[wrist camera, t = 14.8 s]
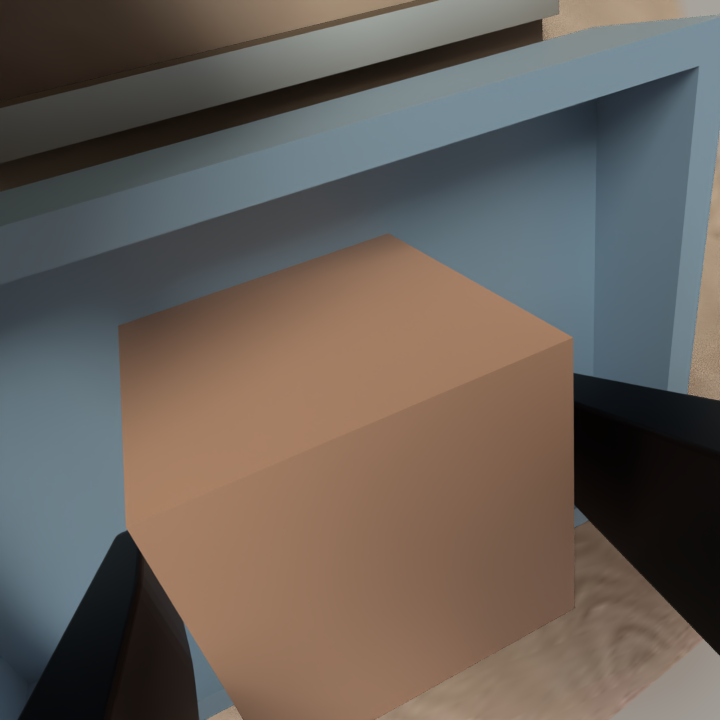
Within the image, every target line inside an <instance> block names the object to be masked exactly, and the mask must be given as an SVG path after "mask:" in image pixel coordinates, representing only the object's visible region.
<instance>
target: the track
mask: <svg viewBox="0 0 720 720" xmlns="http://www.w3.org/2000/svg"><path fill="white" fill-rule="evenodd" d="M558 14H559V0H416V1H412V2H407V3H403V4H399V5H395V6H391V7H387V8H383V9H379V10H375V11H371V12H366V13H362V14H358V15H354V16H350V17H346V18H342V19H338V20H334V21H329V22H325V23H321V24H317V25H313V26H309V27H305V28H301V29H297V30H292V31H288V32H284V33H280V34H276V35H272V36H268V37H264V38H260V39H255V40H251V41H247V42H243V43H239V44H235V45H231V46H227V47H223V48H218V49H214V50H210V51H206V52H202V53H198V54H194V55H190V56H186V57H182V58H177V59H173V60H169V61H165V62H161V63H157V64H153V65H149V66H145V67H140V68H136V69H132V70H128V71H124V72H120V73H116V74H112V75H108V76H103V77H99V78H95V79H91V80H87V81H83V82H79V83H75V84H71V85H66V86H62V87H58V88H54V89H50V90H46V91H42V92H38V93H34V94H30V95H25V96H21V97H17V98H13V99H9V100H5V101H1V102H0V192H2V191H5V190H9V189H13V188H16V187H20V186H23V185H27V184H30V183H34V182H38V181H41V180H45V179H48V178H52V177H56V176H59V175H63V174H66V173H70V172H74V171H77V170H81V169H84V168H88V167H92V166H95V165H99V164H102V163H106V162H110V161H113V160H117V159H120V158H124V157H128V156H131V155H135V154H138V153H142V152H146V151H149V150H153V149H156V148H160V147H164V146H167V145H171V144H174V143H178V142H182V141H185V140H189V139H192V138H196V137H200V136H203V135H207V134H210V133H214V132H218V131H221V130H225V129H228V128H232V127H236V126H239V125H243V124H246V123H250V122H254V121H257V120H261V119H264V118H268V117H272V116H275V115H279V114H282V113H286V112H290V111H293V110H297V109H300V108H304V107H308V106H311V105H315V104H318V103H322V102H326V101H329V100H333V99H336V98H340V97H344V96H347V95H351V94H354V93H358V92H362V91H365V90H369V89H372V88H376V87H380V86H383V85H387V84H390V83H394V82H398V81H401V80H405V79H408V78H412V77H416V76H419V75H423V74H426V73H430V72H434V71H437V70H441V69H444V68H448V67H452V66H455V65H459V64H462V63H466V62H470V61H473V60H477V59H480V58H484V57H488V56H491V55H495V54H498V53H502V52H506V51H509V50H513V49H516V48H520V47H524V46H527V45H531V44H534V43H538V42H542V41H543V35H542V19H543V18H547V17H550V16H554V15H558Z"/></svg>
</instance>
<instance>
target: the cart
mask: <svg viewBox="0 0 720 720" xmlns="http://www.w3.org/2000/svg"><path fill="white" fill-rule="evenodd" d="M719 130H720V15H710V16H700V17H690V18H680V19H670V20H660V21H650V22H640V23H630V24H620V25H610V26H600V27H592V28H588V29H585V30H581V31H578V32H574V33H570V34H567V35H563V36H560V37H556V38H552V39H549V40H545V41H542V42H538V43H534V44H531V45H527V46H524V47H520V48H516V49H513V50H509V51H506V52H502V53H498V54H495V55H491V56H488V57H484V58H480V59H477V60H473V61H470V62H466V63H462V64H459V65H455V66H452V67H448V68H444V69H441V70H437V71H434V72H430V73H426V74H423V75H419V76H416V77H412V78H408V79H405V80H401V81H398V82H394V83H390V84H387V85H383V86H380V87H376V88H372V89H369V90H365V91H362V92H358V93H354V94H351V95H347V96H344V97H340V98H336V99H333V100H329V101H326V102H322V103H318V104H315V105H311V106H308V107H304V108H300V109H297V110H293V111H290V112H286V113H282V114H279V115H275V116H272V117H268V118H264V119H261V120H257V121H254V122H250V123H246V124H243V125H239V126H236V127H232V128H228V129H225V130H221V131H218V132H214V133H210V134H207V135H203V136H200V137H196V138H192V139H189V140H185V141H182V142H178V143H174V144H171V145H167V146H164V147H160V148H156V149H153V150H149V151H146V152H142V153H138V154H135V155H131V156H128V157H124V158H120V159H117V160H113V161H110V162H106V163H102V164H99V165H95V166H92V167H88V168H84V169H81V170H77V171H74V172H70V173H66V174H63V175H59V176H56V177H52V178H48V179H45V180H41V181H38V182H34V183H30V184H27V185H23V186H20V187H16V188H13V189H9V190H5V191H2V192H0V720H17V719H18V717H19V715H20V714H21V712H22V710H23V708H24V706H25V704H26V702H27V701H28V699H29V697H30V695H31V693H32V691H33V689H34V688H35V686H36V684H37V682H38V680H39V678H40V676H41V674H42V673H43V671H44V669H45V667H46V665H47V663H48V661H49V660H50V658H51V656H52V654H53V652H54V650H55V648H56V646H57V645H58V643H59V641H60V639H61V637H62V635H63V633H64V632H65V630H66V628H67V626H68V624H69V622H70V620H71V619H72V617H73V615H74V613H75V611H76V609H77V607H78V605H79V604H80V602H81V600H82V598H83V596H84V594H85V592H86V591H87V589H88V587H89V585H90V583H91V581H92V579H93V578H94V576H95V574H96V572H97V570H98V568H99V566H100V564H101V563H102V561H103V559H104V557H105V555H106V553H107V551H108V550H109V548H110V546H111V544H112V542H113V540H114V538H115V537H116V536H117V535H118V534H119V533H121V532H123V531H126V530H127V528H126V520H125V494H124V467H123V441H122V414H121V387H120V361H119V334H118V325H121V324H124V323H127V322H130V321H133V320H136V319H139V318H142V317H145V316H148V315H151V314H153V313H156V312H159V311H162V310H165V309H168V308H171V307H174V306H177V305H180V304H183V303H186V302H189V301H192V300H194V299H197V298H200V297H203V296H206V295H209V294H212V293H215V292H218V291H221V290H224V289H227V288H230V287H232V286H235V285H238V284H241V283H244V282H247V281H250V280H253V279H256V278H259V277H262V276H265V275H268V274H270V273H273V272H276V271H279V270H282V269H285V268H288V267H291V266H294V265H297V264H300V263H303V262H306V261H309V260H311V259H314V258H317V257H320V256H323V255H326V254H329V253H332V252H335V251H338V250H341V249H344V248H347V247H349V246H352V245H355V244H358V243H361V242H364V241H367V240H370V239H373V238H376V237H379V236H382V235H385V234H388V233H389V234H391V235H392V236H394V237H396V238H398V239H400V240H401V241H403V242H405V243H407V244H408V245H410V246H412V247H414V248H415V249H417V250H419V251H421V252H423V253H424V254H426V255H428V256H430V257H431V258H433V259H435V260H437V261H439V262H440V263H442V264H444V265H446V266H447V267H449V268H451V269H453V270H454V271H456V272H458V273H460V274H462V275H463V276H465V277H467V278H469V279H470V280H472V281H474V282H476V283H478V284H479V285H481V286H483V287H485V288H486V289H488V290H490V291H492V292H493V293H495V294H497V295H499V296H501V297H502V298H504V299H506V300H508V301H509V302H511V303H513V304H515V305H517V306H518V307H520V308H522V309H524V310H525V311H527V312H529V313H531V314H532V315H534V316H536V317H538V318H540V319H541V320H543V321H545V322H547V323H548V324H550V325H552V326H554V327H555V328H557V329H559V330H561V331H563V332H564V333H566V334H568V335H570V336H571V337H573V373H578V374H583V375H588V376H593V377H599V378H604V379H609V380H614V381H619V382H625V383H630V384H635V385H640V386H646V387H651V388H656V389H661V390H667V391H672V392H677V393H682V394H687V392H688V384H689V376H690V367H691V359H692V351H693V343H694V335H695V326H696V318H697V310H698V302H699V294H700V285H701V277H702V269H703V261H704V253H705V244H706V236H707V228H708V220H709V212H710V203H711V195H712V187H713V179H714V171H715V163H716V154H717V146H718V138H719ZM587 521H589V520H588V519H587V518H586V517H585V516H584V515H583V514H582V513H581V512H580V511H579V510H578V509H577V508H576V507H575V505H574V528H575V527H577V526H579V525H581V524H583V523H585V522H587ZM184 626H185V630H186V635H187V639H188V643H189V647H190V652H191V657H192V662H193V668H194V675H195V683H196V692H197V702H198V711H199V720H206V719H208V718H210V717H212V716H213V715H215V714H217V713H219V712H221V711H223V710H225V709H227V708H229V707H231V706H233V705H234V703H233V702H232V700H231V699H230V697H229V695H228V694H227V692H226V690H225V689H224V687H223V685H222V684H221V682H220V681H219V679H218V677H217V676H216V674H215V672H214V671H213V669H212V667H211V666H210V664H209V663H208V661H207V659H206V658H205V656H204V654H203V653H202V651H201V649H200V648H199V646H198V645H197V643H196V641H195V640H194V638H193V636H192V635H191V633H190V631H189V630H188V628H187V627H186V625H185V623H184Z"/></svg>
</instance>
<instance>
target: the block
mask: <svg viewBox="0 0 720 720" xmlns="http://www.w3.org/2000/svg"><path fill="white" fill-rule="evenodd" d="M118 334H119V361H120V387H121V414H122V441H123V467H124V494H125V520H126V528H127V530H128V532H129V533H130V535H131V536H132V538H133V540H134V541H135V543H136V545H137V546H138V548H139V550H140V551H141V553H142V555H143V556H144V558H145V559H146V561H147V563H148V564H149V566H150V568H151V569H152V571H153V573H154V574H155V576H156V577H157V579H158V581H159V582H160V584H161V586H162V587H163V589H164V591H165V592H166V594H167V595H168V597H169V599H170V600H171V602H172V604H173V605H174V607H175V609H176V610H177V612H178V613H179V615H180V617H181V618H182V620H183V622H184V623H185V625H186V627H187V628H188V630H189V631H190V633H191V635H192V636H193V638H194V640H195V641H196V643H197V645H198V646H199V648H200V649H201V651H202V653H203V654H204V656H205V658H206V659H207V661H208V663H209V664H210V666H211V667H212V669H213V671H214V672H215V674H216V676H217V677H218V679H219V681H220V682H221V684H222V685H223V687H224V689H225V690H226V692H227V694H228V695H229V697H230V699H231V700H232V702H233V703H234V705H235V707H236V708H237V710H238V712H239V713H240V715H241V717H242V718H243V720H375V719H377V718H379V717H381V716H382V715H384V714H386V713H388V712H390V711H391V710H393V709H395V708H397V707H399V706H400V705H402V704H404V703H406V702H408V701H409V700H411V699H413V698H415V697H417V696H418V695H420V694H422V693H424V692H426V691H427V690H429V689H431V688H433V687H435V686H436V685H438V684H440V683H442V682H443V681H445V680H447V679H449V678H451V677H452V676H454V675H456V674H458V673H460V672H461V671H463V670H465V669H467V668H469V667H470V666H472V665H474V664H476V663H478V662H479V661H481V660H483V659H485V658H487V657H488V656H490V655H492V654H494V653H496V652H497V651H499V650H501V649H503V648H504V647H506V646H508V645H510V644H512V643H513V642H515V641H517V640H519V639H521V638H522V637H524V636H526V635H528V634H530V633H531V632H533V631H535V630H537V629H539V628H540V627H542V626H544V625H546V624H548V623H549V622H551V621H553V620H555V619H557V618H558V617H560V616H562V615H564V614H566V613H567V612H569V611H571V610H573V609H574V608H575V568H574V401H573V337H571V336H570V335H568V334H566V333H564V332H563V331H561V330H559V329H557V328H555V327H554V326H552V325H550V324H548V323H547V322H545V321H543V320H541V319H540V318H538V317H536V316H534V315H532V314H531V313H529V312H527V311H525V310H524V309H522V308H520V307H518V306H517V305H515V304H513V303H511V302H509V301H508V300H506V299H504V298H502V297H501V296H499V295H497V294H495V293H493V292H492V291H490V290H488V289H486V288H485V287H483V286H481V285H479V284H478V283H476V282H474V281H472V280H470V279H469V278H467V277H465V276H463V275H462V274H460V273H458V272H456V271H454V270H453V269H451V268H449V267H447V266H446V265H444V264H442V263H440V262H439V261H437V260H435V259H433V258H431V257H430V256H428V255H426V254H424V253H423V252H421V251H419V250H417V249H415V248H414V247H412V246H410V245H408V244H407V243H405V242H403V241H401V240H400V239H398V238H396V237H394V236H392V235H391V234H389V233H388V234H385V235H382V236H379V237H376V238H373V239H370V240H367V241H364V242H361V243H358V244H355V245H352V246H349V247H347V248H344V249H341V250H338V251H335V252H332V253H329V254H326V255H323V256H320V257H317V258H314V259H311V260H309V261H306V262H303V263H300V264H297V265H294V266H291V267H288V268H285V269H282V270H279V271H276V272H273V273H270V274H268V275H265V276H262V277H259V278H256V279H253V280H250V281H247V282H244V283H241V284H238V285H235V286H232V287H230V288H227V289H224V290H221V291H218V292H215V293H212V294H209V295H206V296H203V297H200V298H197V299H194V300H192V301H189V302H186V303H183V304H180V305H177V306H174V307H171V308H168V309H165V310H162V311H159V312H156V313H153V314H151V315H148V316H145V317H142V318H139V319H136V320H133V321H130V322H127V323H124V324H121V325H118Z"/></svg>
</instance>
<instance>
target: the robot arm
mask: <svg viewBox="0 0 720 720" xmlns="http://www.w3.org/2000/svg"><path fill="white" fill-rule="evenodd" d="M573 401H574V505H575V507H576V508H577V509H578V510H579V511H580V512H581V513H582V514H583V515H584V516H585V517H586V518H587V519H588V520H589V521H590V522H591V523H592V524H593V525H594V526H595V527H596V528H597V529H598V530H599V531H600V532H601V533H602V534H603V535H604V537H605V538H606V539H607V540H608V541H609V542H610V543H611V544H612V545H613V546H614V547H615V548H616V549H617V550H618V551H619V552H620V553H621V554H622V555H623V556H624V557H625V558H626V559H627V560H628V561H629V562H630V563H631V564H632V565H633V567H634V568H635V569H636V570H637V571H638V572H639V573H640V574H641V575H642V576H643V577H644V578H645V579H646V580H647V581H648V582H649V583H650V584H651V585H652V586H653V587H654V588H655V589H656V590H657V591H658V592H659V593H660V594H661V595H662V596H663V598H664V599H665V600H666V601H667V602H668V603H669V604H670V605H671V606H672V607H673V608H674V609H675V610H676V611H677V612H678V613H679V614H680V615H681V616H682V617H683V618H684V619H685V620H686V621H687V622H688V623H689V624H690V625H691V626H692V628H693V629H694V630H695V631H696V632H697V633H698V634H699V635H700V636H701V637H702V638H703V639H704V640H705V641H706V642H707V643H708V644H709V645H710V646H711V647H712V648H713V649H714V650H715V651H716V652H717V653H718V654H719V655H720V401H719V400H714V399H709V398H703V397H698V396H693V395H688V394H682V393H677V392H672V391H667V390H661V389H656V388H651V387H646V386H640V385H635V384H630V383H625V382H619V381H614V380H609V379H604V378H599V377H593V376H588V375H583V374H578V373H573ZM17 720H199V711H198V702H197V692H196V683H195V675H194V668H193V662H192V657H191V652H190V647H189V643H188V639H187V635H186V630H185V626H184V622H183V620H182V618H181V617H180V615H179V613H178V612H177V610H176V609H175V607H174V605H173V604H172V602H171V600H170V599H169V597H168V595H167V594H166V592H165V591H164V589H163V587H162V586H161V584H160V582H159V581H158V579H157V577H156V576H155V574H154V573H153V571H152V569H151V568H150V566H149V564H148V563H147V561H146V559H145V558H144V556H143V555H142V553H141V551H140V550H139V548H138V546H137V545H136V543H135V541H134V540H133V538H132V536H131V535H130V533H129V532H128V530H126V531H123V532H121V533H119V534H118V535H117V536H116V537H115V538H114V540H113V542H112V544H111V546H110V548H109V550H108V551H107V553H106V555H105V557H104V559H103V561H102V563H101V564H100V566H99V568H98V570H97V572H96V574H95V576H94V578H93V579H92V581H91V583H90V585H89V587H88V589H87V591H86V592H85V594H84V596H83V598H82V600H81V602H80V604H79V605H78V607H77V609H76V611H75V613H74V615H73V617H72V619H71V620H70V622H69V624H68V626H67V628H66V630H65V632H64V633H63V635H62V637H61V639H60V641H59V643H58V645H57V646H56V648H55V650H54V652H53V654H52V656H51V658H50V660H49V661H48V663H47V665H46V667H45V669H44V671H43V673H42V674H41V676H40V678H39V680H38V682H37V684H36V686H35V688H34V689H33V691H32V693H31V695H30V697H29V699H28V701H27V702H26V704H25V706H24V708H23V710H22V712H21V714H20V715H19V717H18V719H17Z"/></svg>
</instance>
